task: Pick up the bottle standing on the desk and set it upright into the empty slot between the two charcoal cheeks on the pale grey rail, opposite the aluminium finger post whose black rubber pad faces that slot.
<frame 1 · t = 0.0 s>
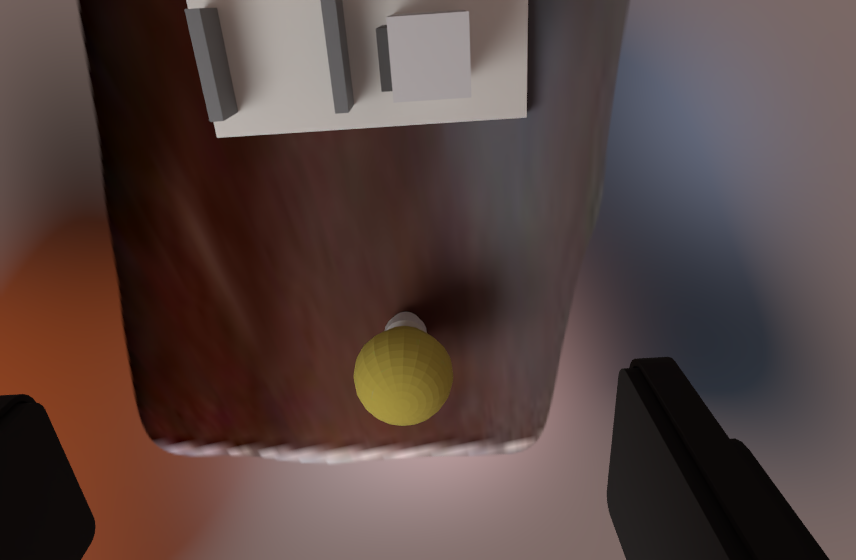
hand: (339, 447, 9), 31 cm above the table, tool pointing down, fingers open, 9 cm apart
light bulb: (406, 323, 45), on the table
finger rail: (364, 51, 36), on the table
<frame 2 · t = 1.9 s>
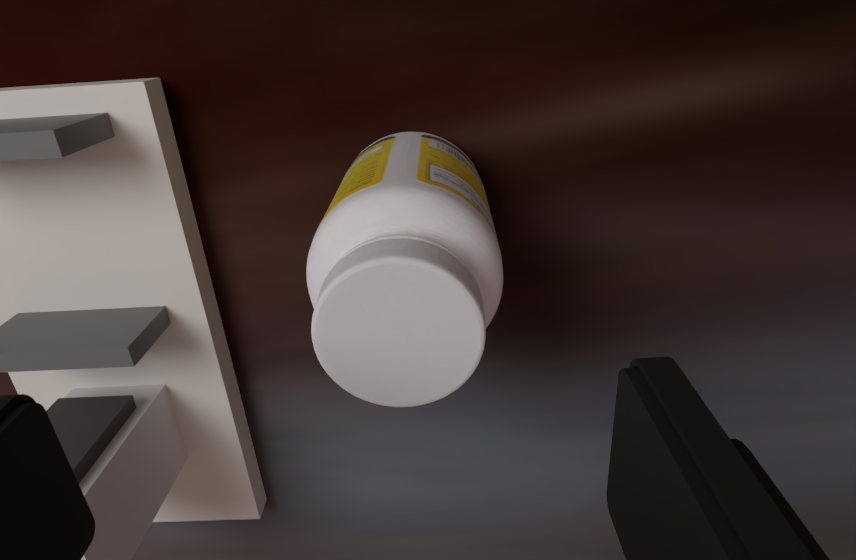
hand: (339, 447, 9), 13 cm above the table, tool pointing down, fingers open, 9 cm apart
supplement bottle: (414, 200, 22), on the table
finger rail: (119, 331, 24), on the table
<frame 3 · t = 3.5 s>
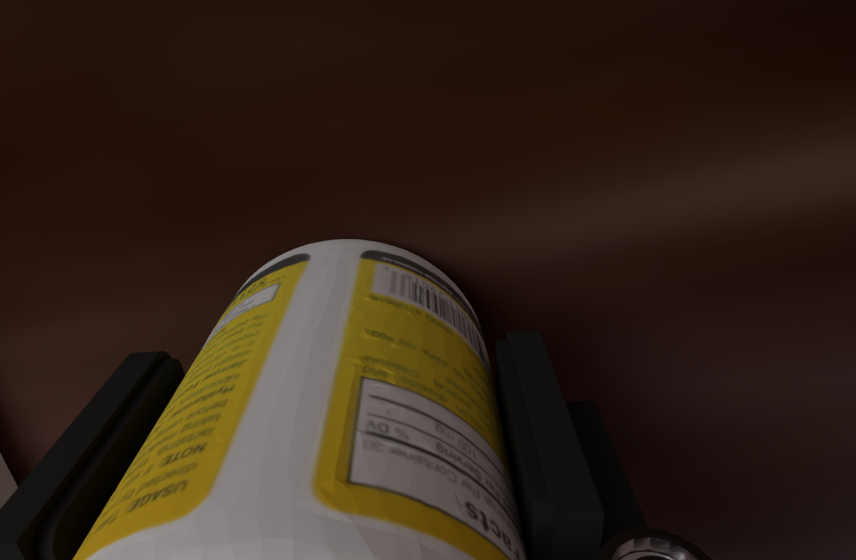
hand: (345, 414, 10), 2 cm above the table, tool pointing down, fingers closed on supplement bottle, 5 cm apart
supplement bottle: (358, 346, 12), on the table, touching gripper
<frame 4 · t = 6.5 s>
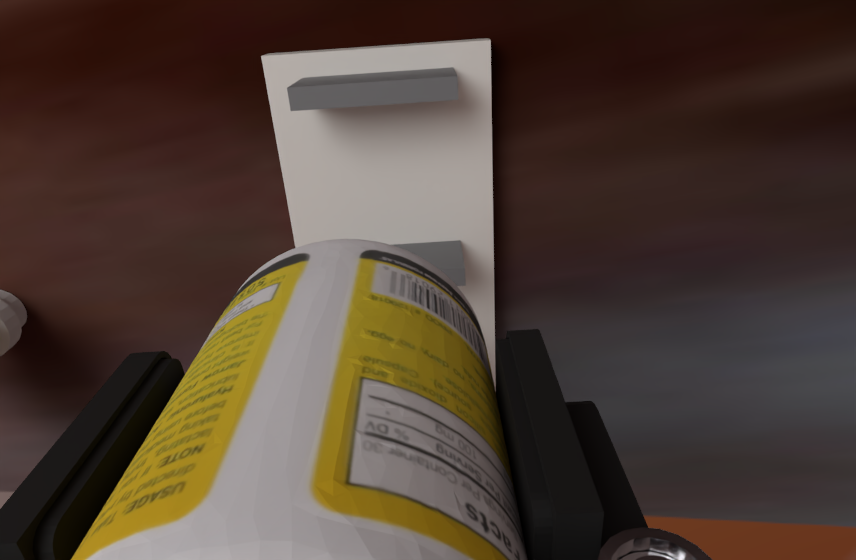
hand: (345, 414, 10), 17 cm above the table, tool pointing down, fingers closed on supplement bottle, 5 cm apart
light bulb: (5, 308, 29), on the table
supplement bottle: (358, 346, 12), point 15 cm above the table, touching gripper
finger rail: (398, 267, 28), on the table
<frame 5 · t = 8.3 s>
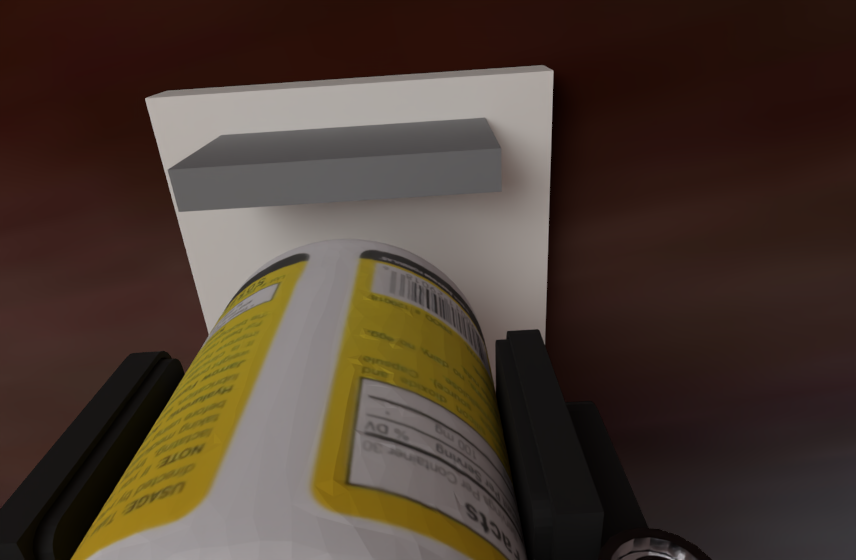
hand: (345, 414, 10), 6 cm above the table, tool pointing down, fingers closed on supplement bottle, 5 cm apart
supplement bottle: (358, 346, 12), point 4 cm above the table, touching gripper
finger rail: (392, 412, 18), on the table
when the fingers open (4 cm above the table, at t = 9.6 s): supplement bottle drops 1 cm, resting on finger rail.
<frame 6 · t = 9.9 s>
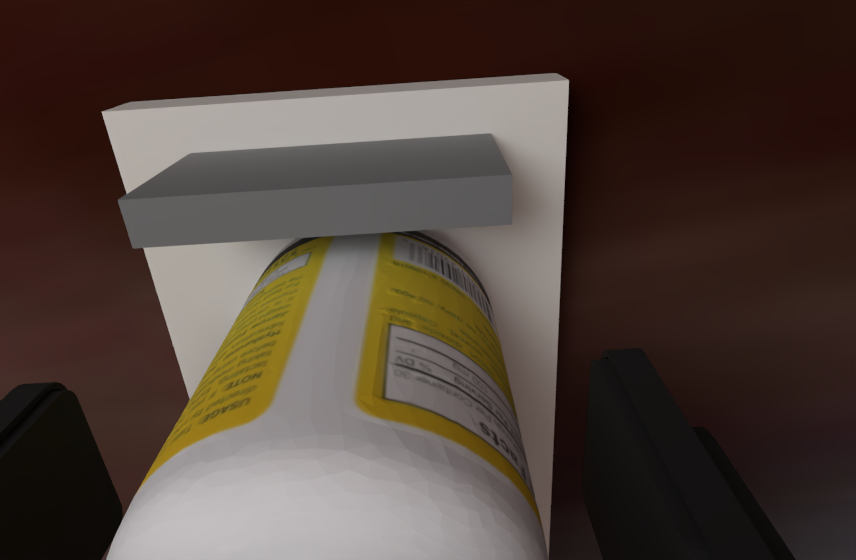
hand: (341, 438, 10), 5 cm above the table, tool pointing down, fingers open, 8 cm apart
supplement bottle: (376, 317, 13), point 1 cm above the table, touching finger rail
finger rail: (386, 451, 16), on the table
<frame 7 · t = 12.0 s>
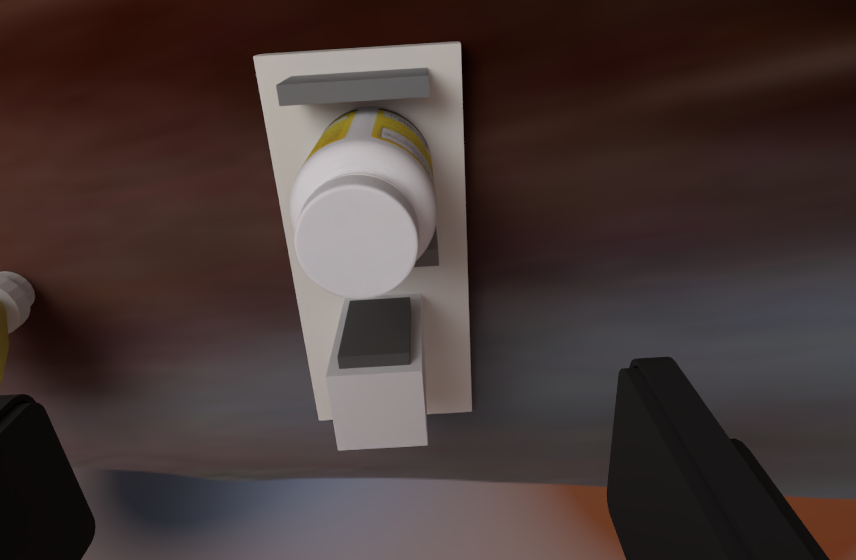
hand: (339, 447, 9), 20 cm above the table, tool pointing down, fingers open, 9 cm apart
light bulb: (14, 289, 31), on the table
supplement bottle: (375, 162, 27), point 1 cm above the table, touching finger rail
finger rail: (380, 251, 30), on the table
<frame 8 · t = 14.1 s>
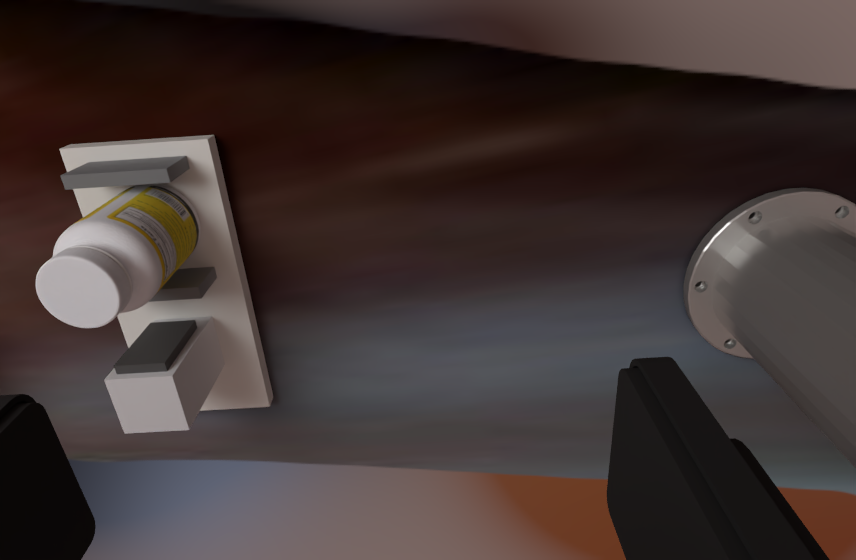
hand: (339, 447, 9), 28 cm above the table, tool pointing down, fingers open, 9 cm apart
supplement bottle: (161, 221, 36), point 1 cm above the table, touching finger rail
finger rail: (182, 284, 40), on the table
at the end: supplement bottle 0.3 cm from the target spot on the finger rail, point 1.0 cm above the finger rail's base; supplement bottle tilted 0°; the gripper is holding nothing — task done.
